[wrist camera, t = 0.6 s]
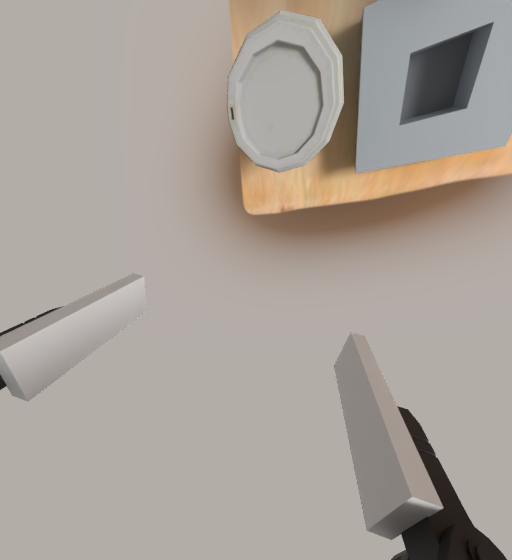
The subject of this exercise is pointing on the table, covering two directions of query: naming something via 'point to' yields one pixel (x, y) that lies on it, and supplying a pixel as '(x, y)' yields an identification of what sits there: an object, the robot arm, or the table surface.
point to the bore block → (433, 80)
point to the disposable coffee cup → (285, 91)
